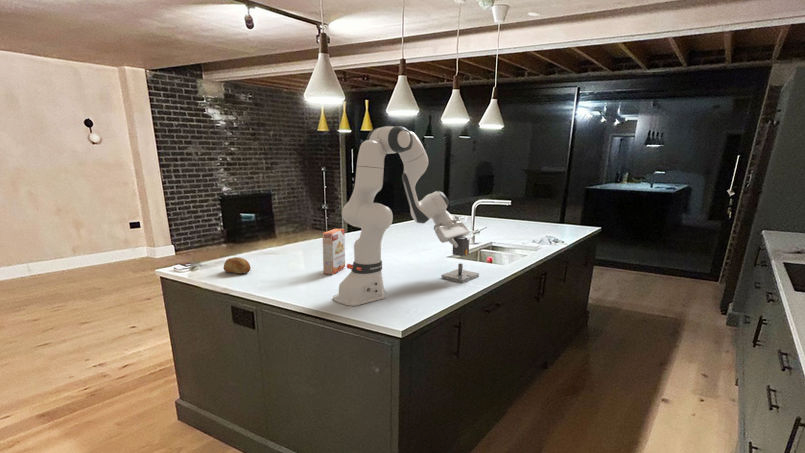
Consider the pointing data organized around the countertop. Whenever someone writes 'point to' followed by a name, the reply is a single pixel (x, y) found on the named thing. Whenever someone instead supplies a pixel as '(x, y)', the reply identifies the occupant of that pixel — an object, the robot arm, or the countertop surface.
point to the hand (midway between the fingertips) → (462, 245)
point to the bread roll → (236, 265)
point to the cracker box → (333, 251)
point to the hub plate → (460, 275)
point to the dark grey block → (461, 246)
